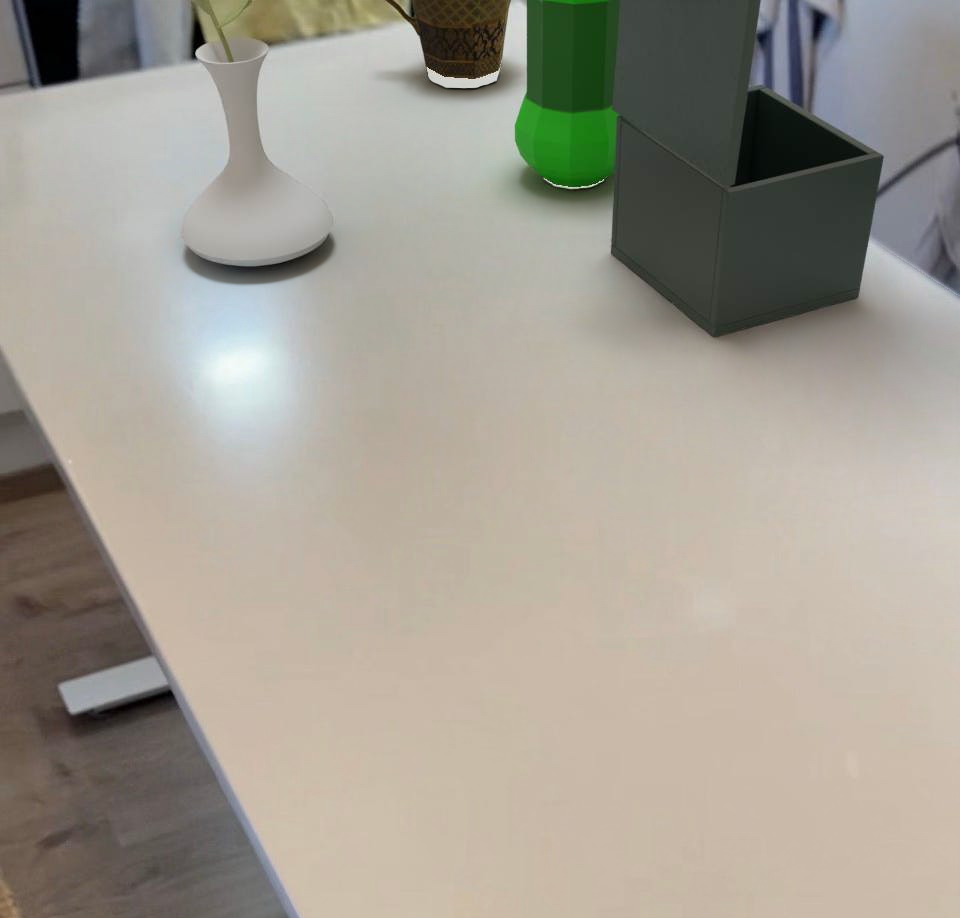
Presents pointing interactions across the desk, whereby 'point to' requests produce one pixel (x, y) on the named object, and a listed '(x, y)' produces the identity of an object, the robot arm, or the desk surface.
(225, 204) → the flower in vase
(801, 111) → the bin
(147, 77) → the desk surface
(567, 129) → the plastic bottle
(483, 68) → the ceramic cup
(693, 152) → the bin lid
